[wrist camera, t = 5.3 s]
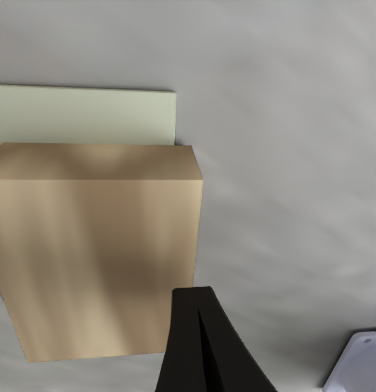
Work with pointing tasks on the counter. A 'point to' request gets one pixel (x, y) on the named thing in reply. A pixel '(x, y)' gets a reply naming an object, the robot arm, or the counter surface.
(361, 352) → the robot arm
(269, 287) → the counter surface
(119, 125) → the sage mat
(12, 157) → the maple tile
